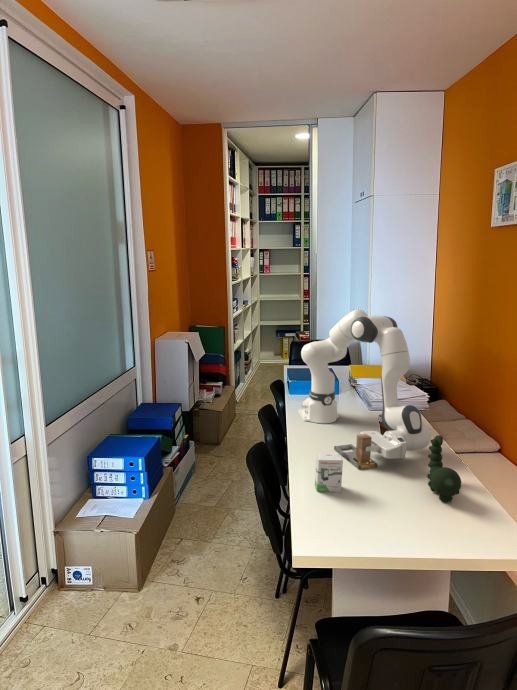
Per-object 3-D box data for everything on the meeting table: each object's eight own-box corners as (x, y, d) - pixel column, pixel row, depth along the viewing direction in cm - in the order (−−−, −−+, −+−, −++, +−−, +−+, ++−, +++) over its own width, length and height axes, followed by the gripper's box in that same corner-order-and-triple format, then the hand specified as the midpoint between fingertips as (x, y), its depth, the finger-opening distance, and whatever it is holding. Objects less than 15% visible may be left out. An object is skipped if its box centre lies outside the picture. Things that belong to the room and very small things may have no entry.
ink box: (316, 492, 171) (317, 459, 169) (314, 485, 176) (315, 453, 173) (341, 492, 171) (343, 459, 169) (339, 485, 176) (340, 453, 174)
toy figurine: (419, 480, 184) (435, 509, 159) (422, 430, 182) (439, 451, 157) (446, 482, 183) (466, 511, 158) (449, 432, 181) (470, 453, 156)
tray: (334, 449, 207) (334, 446, 207) (351, 447, 210) (351, 444, 209) (358, 469, 188) (359, 466, 188) (377, 467, 191) (377, 463, 191)
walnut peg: (355, 459, 194) (356, 434, 193) (364, 457, 196) (366, 433, 194) (360, 463, 191) (362, 438, 189) (370, 462, 192) (371, 437, 190)
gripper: (378, 425, 205) (348, 429, 201) (408, 444, 186) (376, 448, 182) (377, 440, 206) (347, 443, 202) (407, 459, 188) (375, 464, 183)
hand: (361, 446), depth 192 cm, fingers closed on walnut peg, 4 cm apart
